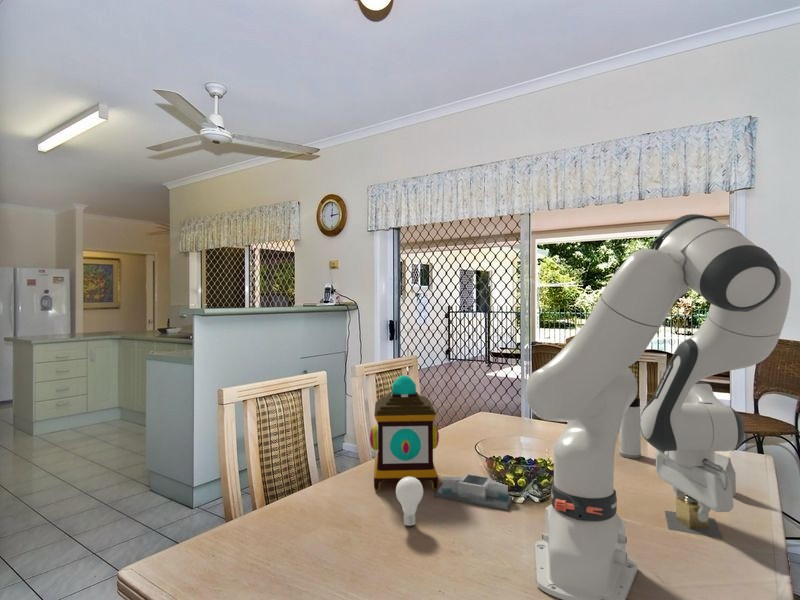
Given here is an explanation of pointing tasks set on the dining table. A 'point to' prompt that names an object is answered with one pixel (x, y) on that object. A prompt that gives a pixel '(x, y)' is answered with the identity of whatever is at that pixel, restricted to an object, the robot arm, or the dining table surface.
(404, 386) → the decorative lantern
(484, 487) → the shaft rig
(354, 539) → the dining table surface
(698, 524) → the block
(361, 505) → the dining table surface
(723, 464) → the white house block
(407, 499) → the lightbulb
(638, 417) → the travel mug
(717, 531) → the rubber mat
